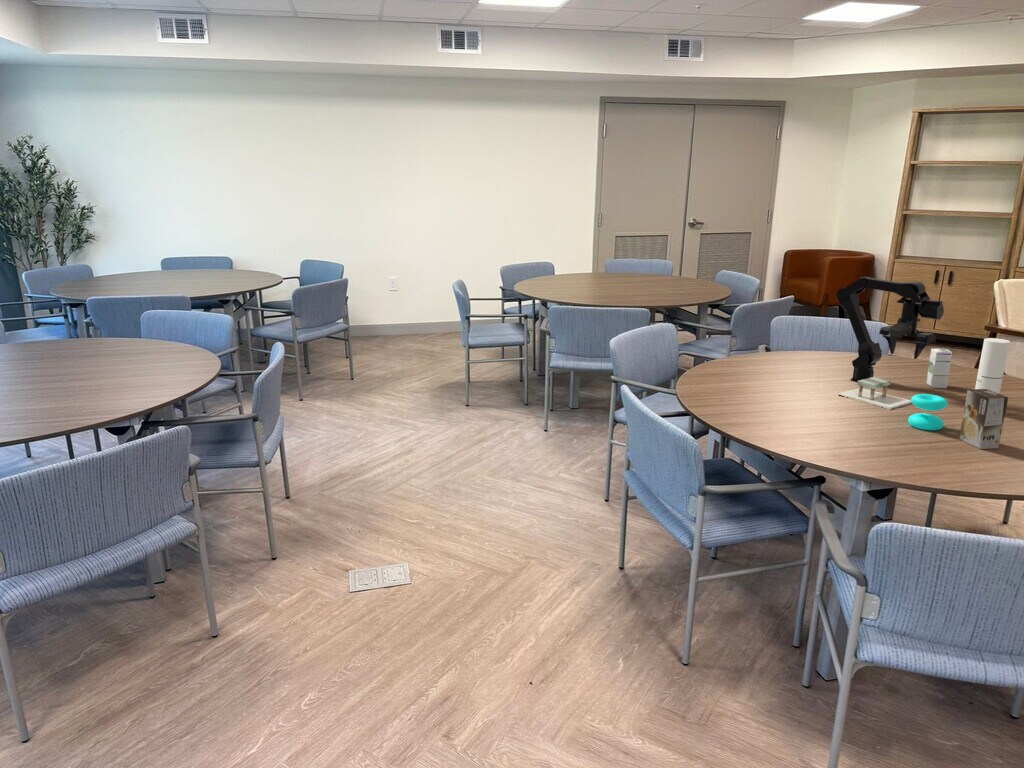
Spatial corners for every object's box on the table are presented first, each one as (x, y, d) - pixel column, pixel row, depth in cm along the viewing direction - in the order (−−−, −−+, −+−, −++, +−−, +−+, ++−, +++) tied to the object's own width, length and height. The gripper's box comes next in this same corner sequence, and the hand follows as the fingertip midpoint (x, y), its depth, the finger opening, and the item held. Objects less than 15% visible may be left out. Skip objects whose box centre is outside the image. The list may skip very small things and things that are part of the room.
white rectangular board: (837, 395, 253) (838, 393, 253) (860, 389, 260) (860, 387, 260) (889, 409, 236) (890, 407, 236) (912, 402, 243) (912, 400, 243)
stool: (871, 392, 254) (873, 376, 252) (888, 396, 249) (890, 380, 247) (855, 396, 249) (857, 380, 247) (872, 400, 244) (874, 385, 242)
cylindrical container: (988, 414, 230) (1002, 343, 223) (966, 409, 236) (979, 339, 229) (1000, 411, 233) (1014, 341, 226) (978, 406, 239) (991, 337, 232)
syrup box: (947, 388, 260) (953, 351, 256) (930, 387, 261) (936, 351, 257) (941, 384, 265) (947, 348, 261) (924, 383, 267) (930, 348, 263)
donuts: (954, 401, 212) (922, 402, 212) (949, 431, 215) (917, 431, 215) (936, 392, 222) (905, 392, 222) (931, 421, 224) (901, 421, 225)
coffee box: (999, 448, 201) (1010, 397, 196) (979, 449, 200) (989, 398, 196) (976, 437, 209) (986, 388, 205) (957, 438, 209) (966, 389, 204)
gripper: (873, 314, 257) (867, 353, 261) (921, 322, 241) (914, 364, 245) (891, 311, 262) (885, 350, 266) (939, 319, 246) (932, 360, 250)
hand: (903, 356), depth 257 cm, fingers open, 9 cm apart
